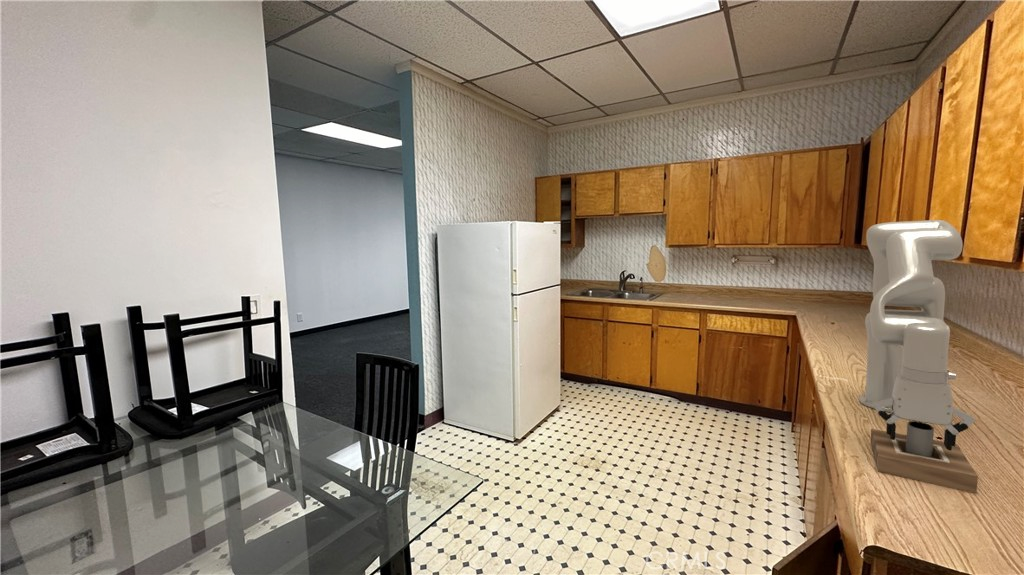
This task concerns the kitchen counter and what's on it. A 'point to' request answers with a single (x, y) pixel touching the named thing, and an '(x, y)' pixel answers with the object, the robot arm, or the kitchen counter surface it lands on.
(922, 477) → the brown flat square frame
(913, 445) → the grey hollow tube
